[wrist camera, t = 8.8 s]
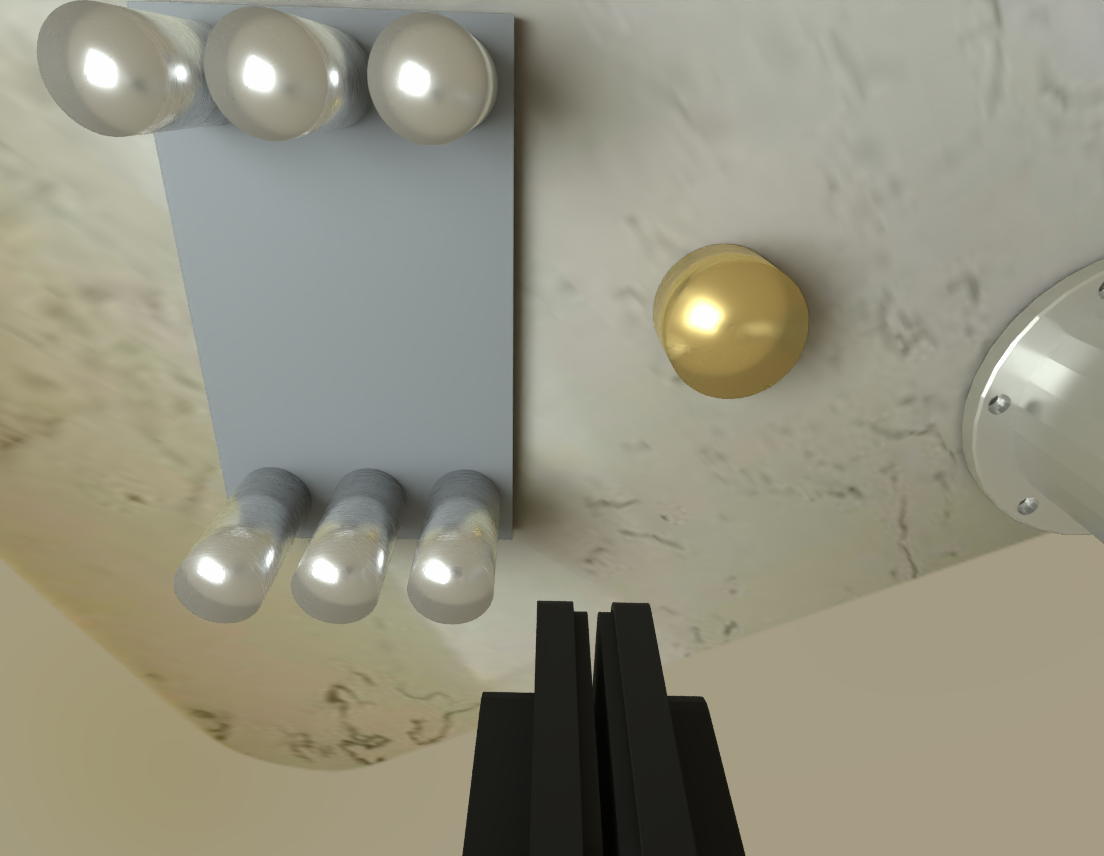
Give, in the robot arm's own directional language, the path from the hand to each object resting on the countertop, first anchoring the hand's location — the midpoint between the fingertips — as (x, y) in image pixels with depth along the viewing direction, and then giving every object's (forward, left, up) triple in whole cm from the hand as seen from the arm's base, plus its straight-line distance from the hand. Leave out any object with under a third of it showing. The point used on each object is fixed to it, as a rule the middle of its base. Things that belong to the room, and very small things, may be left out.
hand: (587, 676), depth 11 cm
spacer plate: (+8, 0, -18) cm, 20 cm away
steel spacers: (+8, 0, -18) cm, 20 cm away
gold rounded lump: (-6, 0, -19) cm, 20 cm away
